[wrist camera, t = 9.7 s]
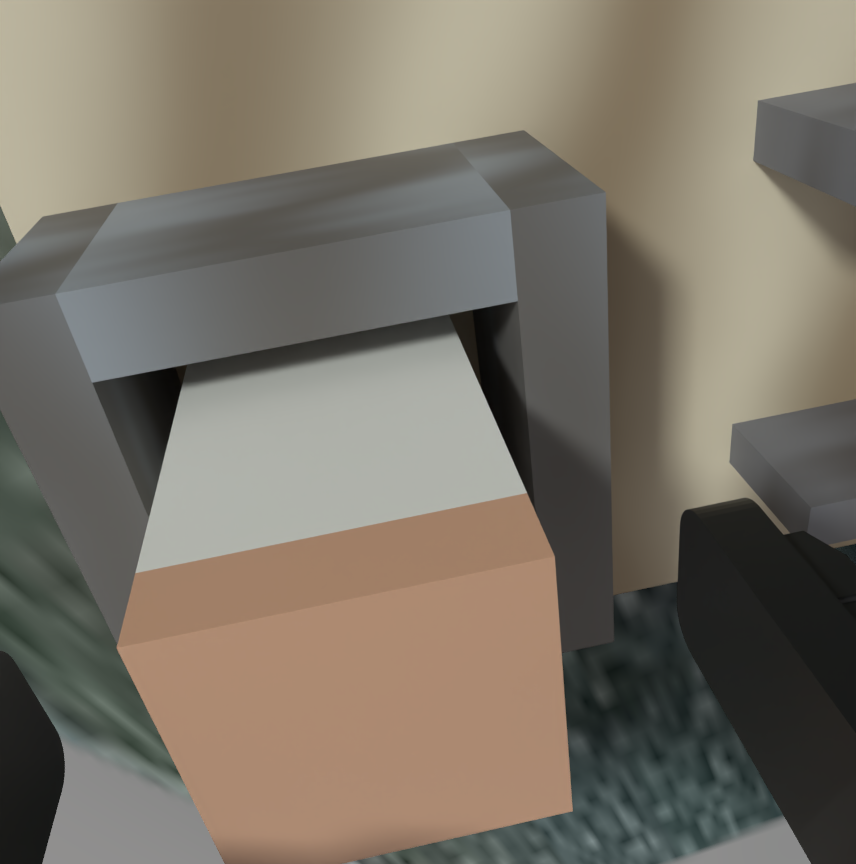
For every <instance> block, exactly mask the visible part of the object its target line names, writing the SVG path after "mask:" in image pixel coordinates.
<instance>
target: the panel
mask: <svg viewBox="0 0 856 864" xmlns="http://www.w3.org/2000/svg"><path fill="white" fill-rule="evenodd" d="M0 206H1V208H2V210H3V213H4V215H5V217H6V220H7V222H8V224H9V227H10V229H11V231H12V234H13V236H14V238H15V241H16V243H17V244H16V245H15V246H14V248H13V249H12V250H11V251H10V252H9V253H8V254H7V255H6V256H5V257H4V258H3V259H2V260H1V261H0V410H1V412H2V414H3V416H4V418H5V420H6V422H7V424H8V426H9V428H10V430H11V432H12V434H13V436H14V438H15V440H16V442H17V444H18V446H19V448H20V450H21V452H22V454H23V456H24V458H25V460H26V462H27V464H28V466H29V468H30V470H31V472H32V474H33V476H34V478H35V480H36V482H37V484H38V486H39V488H40V490H41V492H42V494H43V496H44V498H45V500H46V502H47V504H48V506H49V508H50V510H51V512H52V514H53V516H54V518H55V520H56V522H57V524H58V526H59V528H60V530H61V532H62V534H63V536H64V538H65V540H66V542H67V544H68V546H69V548H70V550H71V552H72V554H73V556H74V558H75V560H76V562H77V564H78V566H79V568H80V570H81V572H82V574H83V576H84V578H85V580H86V582H87V584H88V586H89V588H90V590H91V592H92V594H93V596H94V598H95V600H96V602H97V604H98V606H99V608H100V610H101V612H102V614H103V616H104V618H105V620H106V622H107V624H108V626H109V628H110V630H111V632H112V634H113V636H114V639H115V641H116V643H117V645H118V641H119V637H120V633H121V629H122V625H123V621H124V617H125V613H126V609H127V605H128V601H129V597H130V593H131V589H132V585H133V581H134V576H135V572H136V568H137V564H138V560H139V556H140V552H141V548H142V544H143V540H144V536H145V532H146V528H147V524H148V520H149V516H150V512H151V508H152V504H153V500H154V496H155V492H156V488H157V484H158V480H159V476H160V472H161V468H162V464H163V460H164V456H165V452H166V448H167V444H168V440H169V436H170V432H171V428H172V424H173V420H174V416H175V412H176V408H177V404H178V400H179V396H180V392H181V388H182V384H183V380H184V376H185V372H186V368H187V364H192V363H198V362H203V361H208V360H213V359H218V358H224V357H229V356H234V355H239V354H245V353H250V352H255V351H260V350H265V349H271V348H276V347H281V346H286V345H292V344H297V343H302V342H307V341H312V340H318V339H323V338H328V337H333V336H339V335H344V334H349V333H354V332H360V331H365V330H370V329H375V328H380V327H386V326H391V325H396V324H401V323H407V322H412V321H417V320H422V319H427V318H433V317H438V316H443V315H448V314H449V316H450V319H451V321H452V323H453V326H454V328H455V330H456V332H457V335H458V337H459V339H460V341H461V344H462V346H463V348H464V351H465V353H466V355H467V357H468V360H469V362H470V364H471V367H472V369H473V371H474V373H475V376H476V378H477V380H478V382H479V385H480V387H481V389H482V392H483V394H484V396H485V398H486V401H487V403H488V405H489V408H490V410H491V412H492V414H493V417H494V419H495V421H496V424H497V426H498V428H499V430H500V433H501V435H502V437H503V439H504V442H505V444H506V446H507V449H508V451H509V453H510V455H511V458H512V460H513V462H514V465H515V467H516V469H517V471H518V474H519V476H520V478H521V480H522V483H523V485H524V487H525V490H526V492H527V494H528V496H529V499H530V501H531V503H532V506H533V508H534V510H535V512H536V515H537V517H538V519H539V521H540V524H541V526H542V528H543V531H544V533H545V535H546V537H547V540H548V542H549V544H550V547H551V549H552V551H553V553H554V556H555V566H556V581H557V595H558V609H559V623H560V638H561V652H562V653H564V652H569V651H574V650H578V649H583V648H588V647H592V646H597V645H601V644H606V643H611V642H614V607H613V595H617V594H621V593H626V592H631V591H635V590H640V589H645V588H649V587H654V586H659V585H664V584H668V583H673V582H678V558H679V533H680V520H681V516H682V514H683V512H684V511H685V510H687V509H692V508H697V507H702V506H706V505H711V504H716V503H721V502H726V501H730V500H735V499H740V498H750V499H752V500H753V501H755V502H756V503H757V504H758V505H759V506H760V508H761V509H762V510H763V511H764V512H765V513H766V515H767V516H768V517H769V518H770V519H771V521H772V522H773V523H774V524H775V525H776V526H777V528H778V529H779V530H780V531H781V532H782V534H783V535H784V534H789V533H794V532H799V531H805V532H807V533H808V534H810V535H812V536H814V537H815V538H817V539H819V540H821V541H822V542H824V543H826V544H828V545H829V546H831V547H833V548H837V547H842V546H847V545H851V544H856V0H0Z"/></svg>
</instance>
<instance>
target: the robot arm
mask: <svg viewBox="0 0 856 864" xmlns="http://www.w3.org/2000/svg"><path fill="white" fill-rule="evenodd" d="M677 611H678V617H679V622H680V626H681V629H682V633H683V636H684V639H685V641H686V644H687V646H688V648H689V650H690V652H691V654H692V656H693V658H694V660H695V661H696V663H697V665H698V667H699V668H700V670H701V672H702V674H703V675H704V677H705V679H706V681H707V682H708V684H709V686H710V688H711V689H712V691H713V693H714V695H715V696H716V698H717V700H718V702H719V703H720V705H721V707H722V709H723V710H724V712H725V714H726V716H727V717H728V719H729V721H730V722H731V724H732V726H733V728H734V729H735V731H736V733H737V735H738V736H739V738H740V740H741V742H742V743H743V745H744V747H745V749H746V750H747V752H748V754H749V756H750V757H751V759H752V761H753V763H754V764H755V766H756V768H757V770H758V771H759V773H760V775H761V777H762V778H763V780H764V782H765V784H766V785H767V787H768V789H769V791H770V792H771V794H772V796H773V798H774V799H775V801H776V803H777V805H778V806H779V808H780V810H781V812H782V813H783V815H784V817H785V819H786V820H787V822H788V824H789V825H790V827H791V829H792V831H793V833H794V834H795V836H796V838H797V840H798V841H799V843H800V845H801V847H802V848H803V850H804V852H805V853H806V855H807V857H808V859H809V861H810V862H811V864H856V565H855V564H854V563H853V562H852V561H851V560H850V559H849V557H848V556H847V555H845V554H843V553H841V552H840V551H838V550H836V549H834V548H833V547H831V546H829V545H828V544H826V543H824V542H822V541H821V540H819V539H817V538H815V537H814V536H812V535H810V534H808V533H807V532H805V531H799V532H794V533H789V534H784V535H783V534H782V532H781V531H780V530H779V529H778V528H777V526H776V525H775V524H774V523H773V522H772V521H771V519H770V518H769V517H768V516H767V515H766V513H765V512H764V511H763V510H762V509H761V508H760V506H759V505H758V504H757V503H756V502H755V501H753V500H752V499H750V498H740V499H735V500H730V501H726V502H721V503H716V504H711V505H706V506H702V507H697V508H692V509H687V510H685V511H684V512H683V514H682V516H681V520H680V533H679V558H678V583H677ZM64 773H65V761H64V752H63V747H62V743H61V740H60V737H59V734H58V732H57V730H56V729H55V727H54V725H53V724H52V722H51V720H50V719H49V717H48V716H47V714H46V712H45V711H44V709H43V707H42V706H41V704H40V702H39V701H38V699H37V697H36V696H35V694H34V693H33V691H32V689H31V688H30V686H29V684H28V683H27V681H26V679H25V678H24V676H23V674H22V673H21V671H20V670H19V668H18V666H17V665H16V663H15V662H14V660H13V659H12V657H10V656H9V655H8V654H7V653H5V652H3V651H0V864H42V862H43V858H44V854H45V851H46V847H47V843H48V839H49V836H50V832H51V828H52V825H53V821H54V818H55V814H56V810H57V807H58V803H59V799H60V796H61V792H62V788H63V783H64Z"/></svg>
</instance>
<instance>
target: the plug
mask: <svg viewBox="0 0 856 864" xmlns="http://www.w3.org/2000/svg"><path fill="white" fill-rule="evenodd" d="M117 650H118V652H119V654H120V656H121V658H122V660H123V662H124V664H125V666H126V668H127V670H128V672H129V674H130V676H131V678H132V680H133V682H134V684H135V686H136V688H137V690H138V692H139V694H140V696H141V698H142V700H143V702H144V704H145V706H146V708H147V710H148V712H149V714H150V716H151V718H152V719H153V721H154V723H155V725H156V727H157V729H158V731H159V733H160V735H161V737H162V739H163V741H164V743H165V745H166V747H167V749H168V751H169V753H170V755H171V757H172V759H173V761H174V763H175V765H176V767H177V769H178V771H179V773H180V775H181V777H182V779H183V781H184V783H185V785H186V787H187V789H188V791H189V793H190V795H191V797H192V799H193V801H194V803H195V805H196V807H197V809H198V811H199V813H200V815H201V817H202V819H203V821H204V823H205V825H206V827H207V829H208V831H209V833H210V835H211V837H212V839H213V841H214V843H215V845H216V847H217V849H218V851H219V853H220V855H221V857H222V859H223V861H224V863H225V864H342V863H347V862H351V861H355V860H360V859H364V858H369V857H373V856H377V855H382V854H386V853H391V852H395V851H399V850H404V849H408V848H413V847H417V846H421V845H426V844H430V843H435V842H439V841H443V840H448V839H452V838H457V837H461V836H465V835H470V834H474V833H479V832H483V831H487V830H492V829H496V828H501V827H505V826H509V825H514V824H518V823H523V822H527V821H531V820H536V819H540V818H545V817H549V816H553V815H558V814H562V813H567V812H571V811H573V809H572V795H571V781H570V766H569V752H568V738H567V723H566V709H565V695H564V681H563V666H562V652H561V638H560V623H559V609H558V595H557V581H556V566H555V556H554V553H553V551H552V549H551V547H550V544H549V542H548V540H547V537H546V535H545V533H544V531H543V528H542V526H541V524H540V521H539V519H538V517H537V515H536V512H535V510H534V508H533V506H532V503H531V501H530V499H529V496H528V494H527V492H526V490H525V487H524V485H523V483H522V480H521V478H520V476H519V474H518V471H517V469H516V467H515V465H514V462H513V460H512V458H511V455H510V453H509V451H508V449H507V446H506V444H505V442H504V439H503V437H502V435H501V433H500V430H499V428H498V426H497V424H496V421H495V419H494V417H493V414H492V412H491V410H490V408H489V405H488V403H487V401H486V398H485V396H484V394H483V392H482V389H481V387H480V385H479V382H478V380H477V378H476V376H475V373H474V371H473V369H472V367H471V364H470V362H469V360H468V357H467V355H466V353H465V351H464V348H463V346H462V344H461V341H460V339H459V337H458V335H457V332H456V330H455V328H454V326H453V323H452V321H451V319H450V316H449V314H448V315H443V316H438V317H433V318H427V319H422V320H417V321H412V322H407V323H401V324H396V325H391V326H386V327H380V328H375V329H370V330H365V331H360V332H354V333H349V334H344V335H339V336H333V337H328V338H323V339H318V340H312V341H307V342H302V343H297V344H292V345H286V346H281V347H276V348H271V349H265V350H260V351H255V352H250V353H245V354H239V355H234V356H229V357H224V358H218V359H213V360H208V361H203V362H198V363H192V364H187V368H186V372H185V376H184V380H183V384H182V388H181V392H180V396H179V400H178V404H177V408H176V412H175V416H174V420H173V424H172V428H171V432H170V436H169V440H168V444H167V448H166V452H165V456H164V460H163V464H162V468H161V472H160V476H159V480H158V484H157V488H156V492H155V496H154V500H153V504H152V508H151V512H150V516H149V520H148V524H147V528H146V532H145V536H144V540H143V544H142V548H141V552H140V556H139V560H138V564H137V568H136V572H135V576H134V581H133V585H132V589H131V593H130V597H129V601H128V605H127V609H126V613H125V617H124V621H123V625H122V629H121V633H120V637H119V641H118V645H117Z"/></svg>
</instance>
